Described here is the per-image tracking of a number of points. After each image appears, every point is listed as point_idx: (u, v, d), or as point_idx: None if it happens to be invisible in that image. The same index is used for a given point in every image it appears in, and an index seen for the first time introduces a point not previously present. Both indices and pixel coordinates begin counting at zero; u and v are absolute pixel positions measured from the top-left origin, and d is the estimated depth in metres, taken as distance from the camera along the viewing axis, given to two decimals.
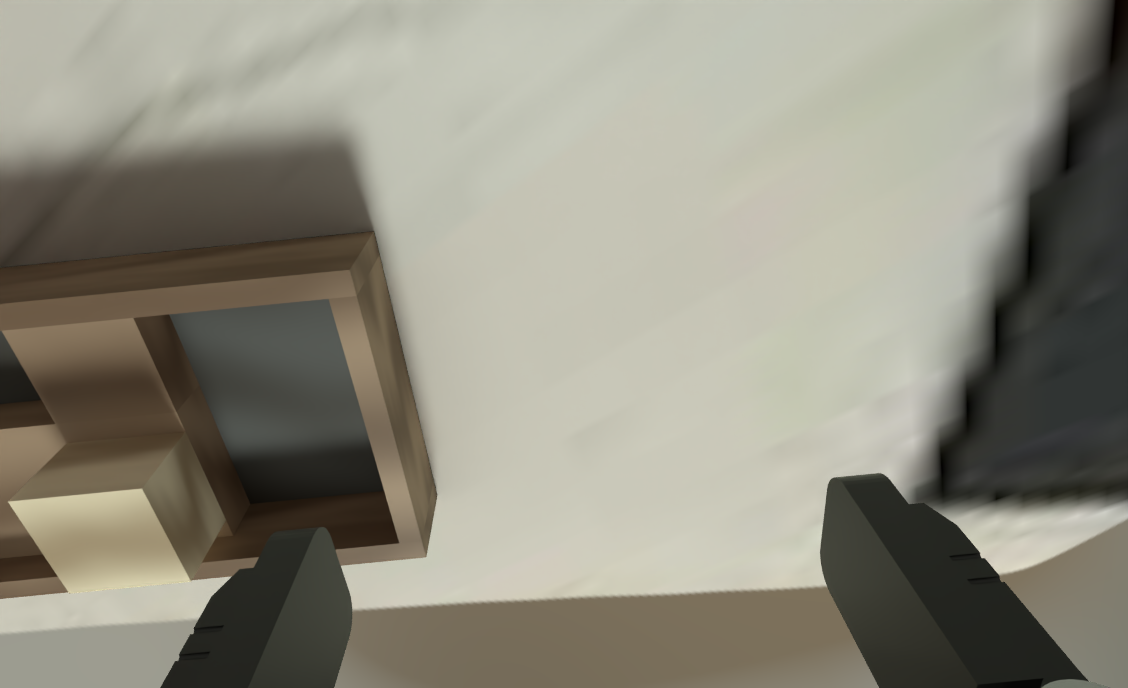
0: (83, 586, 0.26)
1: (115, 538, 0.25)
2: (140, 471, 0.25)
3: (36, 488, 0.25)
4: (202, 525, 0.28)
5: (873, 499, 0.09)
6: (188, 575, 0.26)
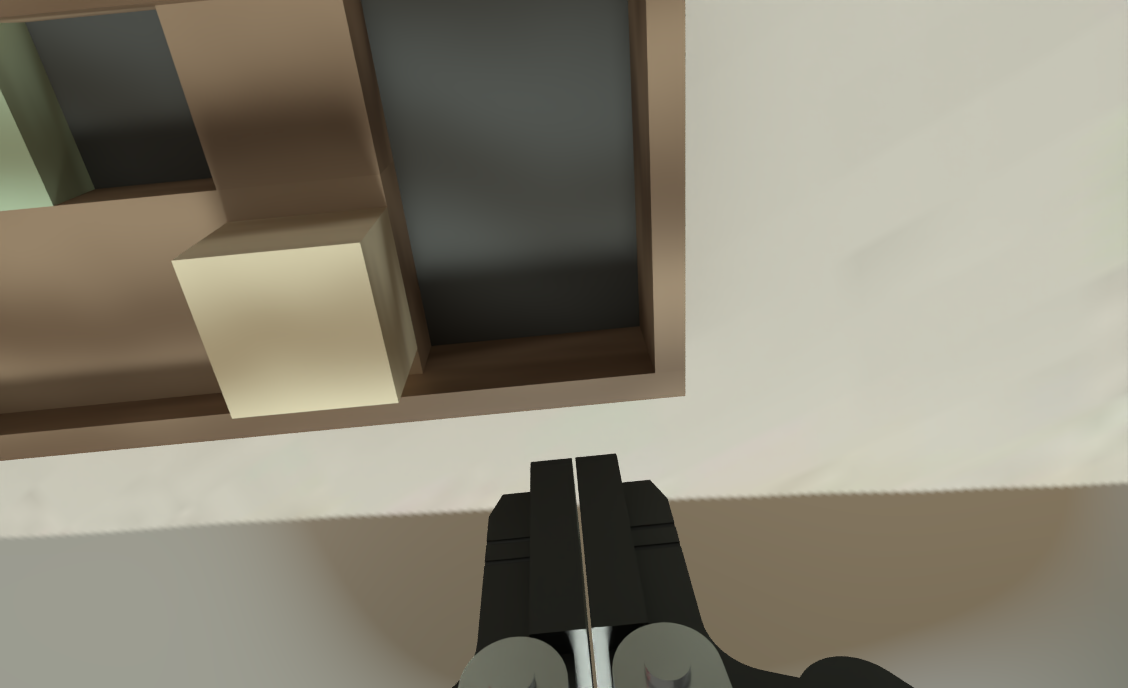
0: (252, 408, 0.19)
1: (309, 327, 0.18)
2: (347, 232, 0.18)
3: (206, 250, 0.18)
4: (402, 338, 0.21)
5: (593, 475, 0.10)
6: (396, 393, 0.19)
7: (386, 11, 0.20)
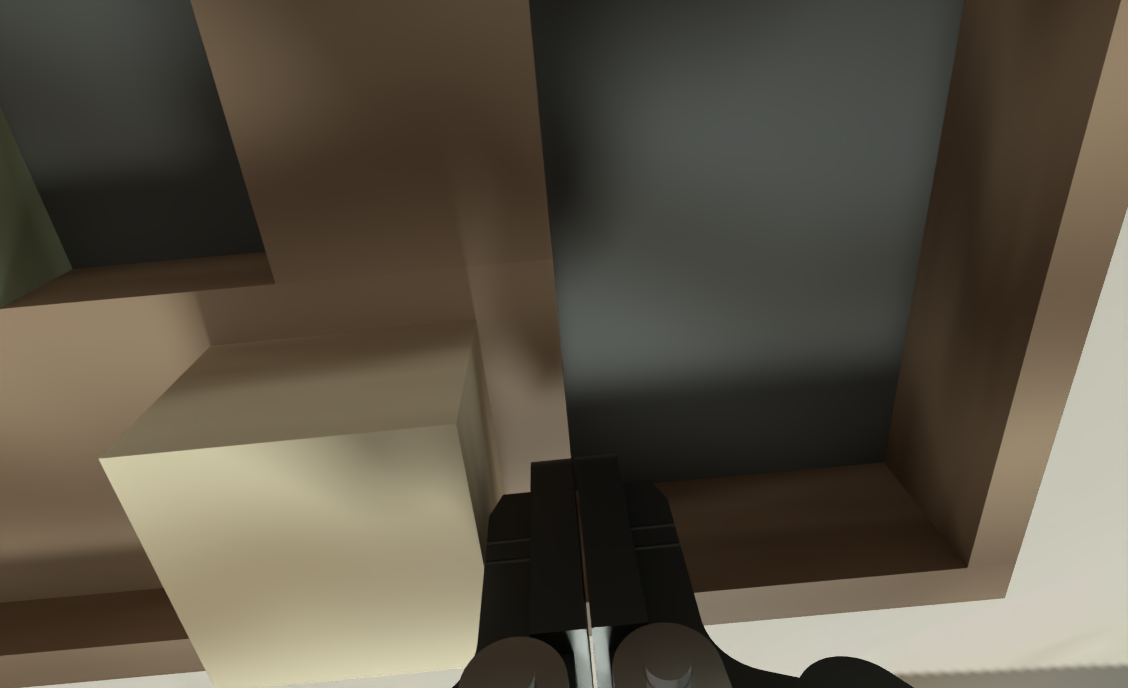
0: (252, 676, 0.11)
1: (354, 559, 0.10)
2: (423, 389, 0.10)
3: (167, 428, 0.10)
4: None
5: (593, 475, 0.10)
6: None
7: None
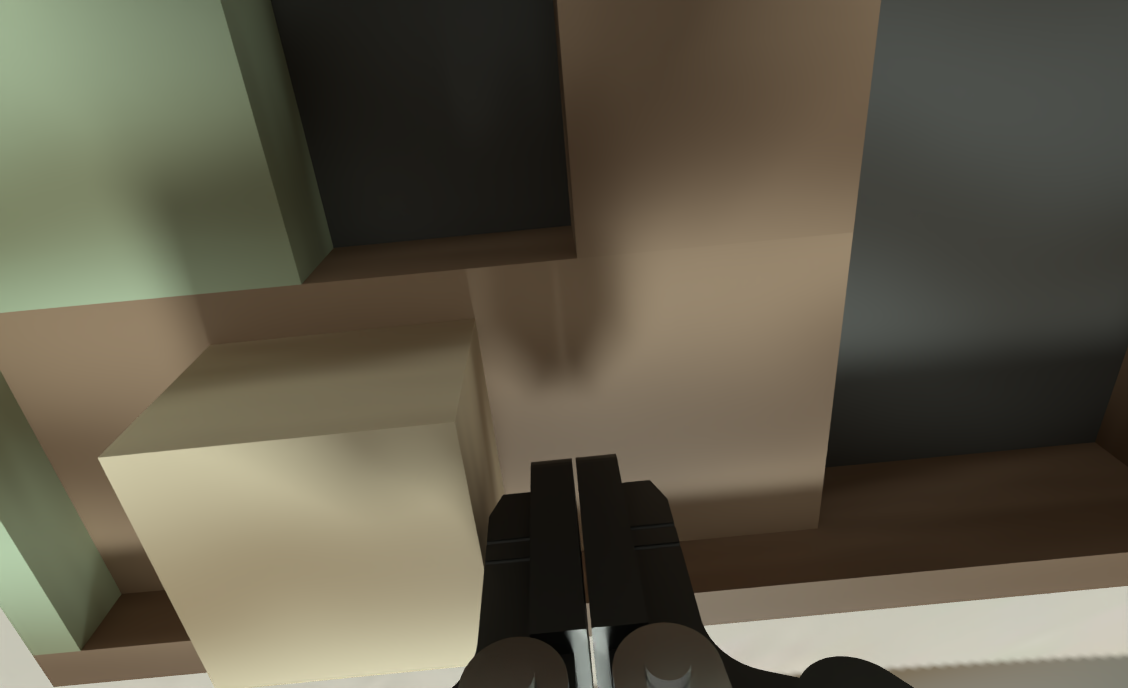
0: (252, 675, 0.11)
1: (353, 557, 0.10)
2: (423, 387, 0.10)
3: (167, 427, 0.10)
4: None
5: (593, 475, 0.10)
6: None
7: None
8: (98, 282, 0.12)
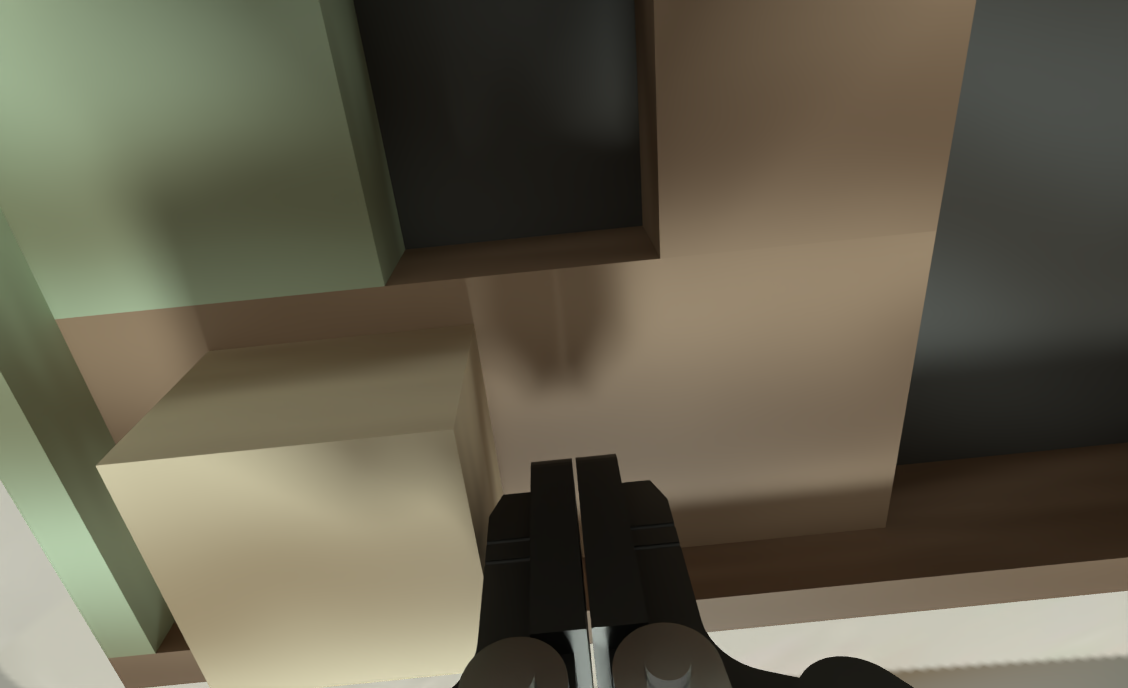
0: (251, 682, 0.11)
1: (352, 565, 0.10)
2: (421, 394, 0.10)
3: (165, 435, 0.10)
4: None
5: (593, 475, 0.10)
6: None
7: None
8: (183, 285, 0.12)
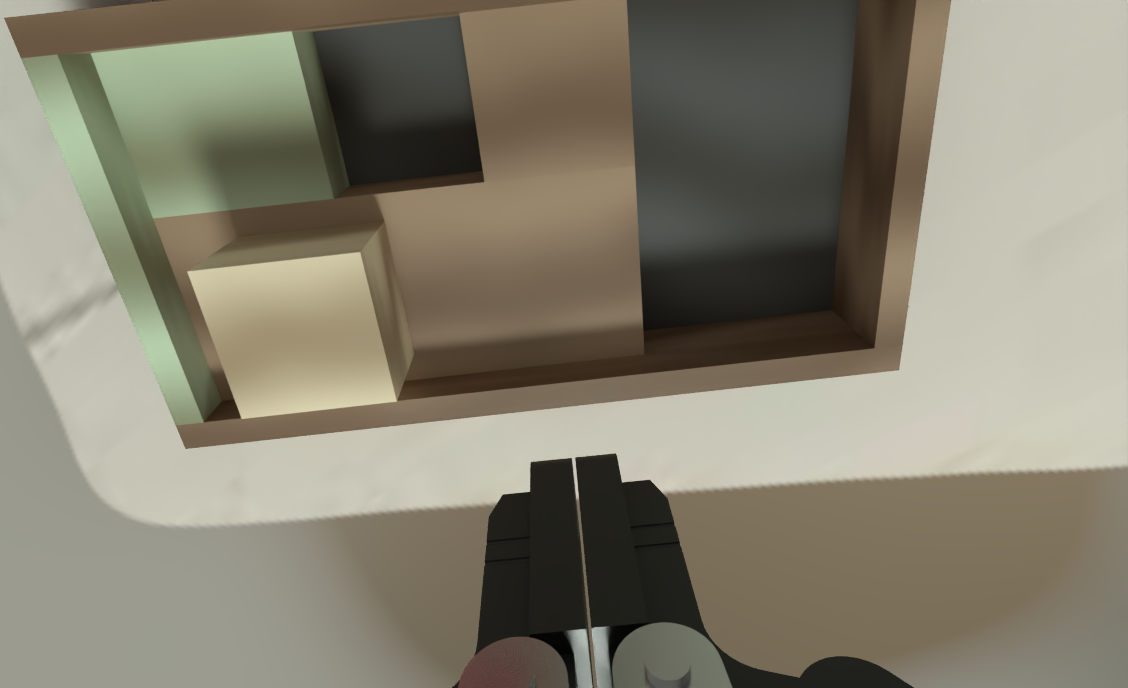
0: (261, 408, 0.21)
1: (314, 331, 0.20)
2: (348, 244, 0.20)
3: (219, 262, 0.19)
4: (400, 342, 0.22)
5: (593, 475, 0.10)
6: (394, 392, 0.21)
7: (639, 17, 0.21)
8: (223, 198, 0.21)
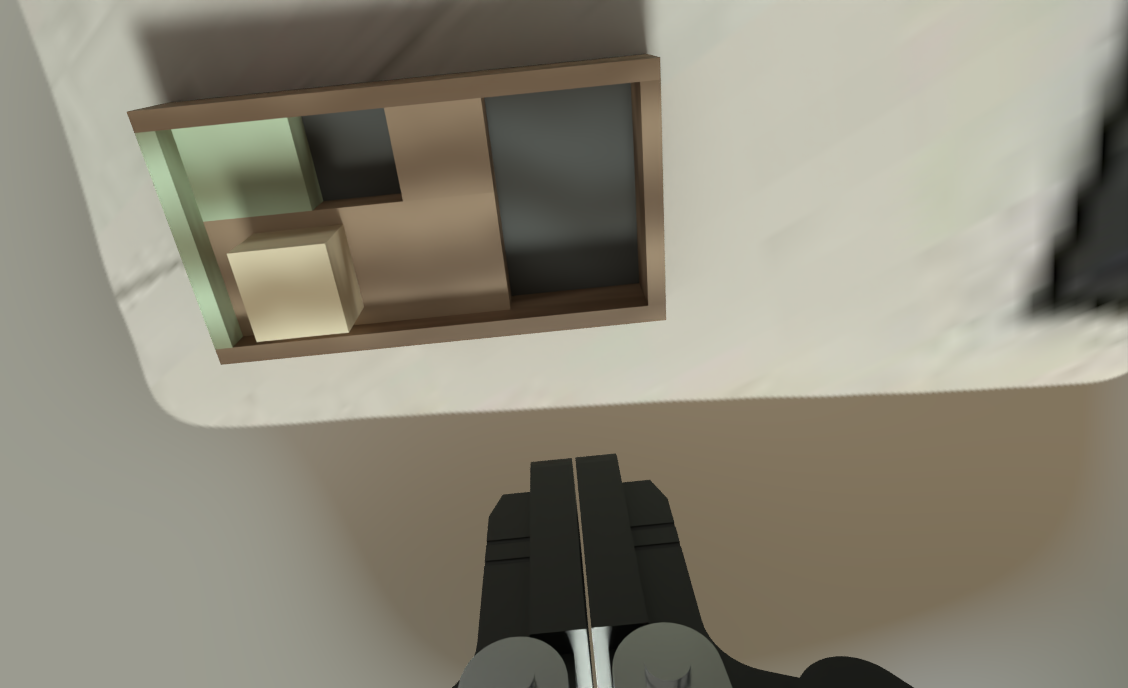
0: (268, 335, 0.35)
1: (299, 289, 0.34)
2: (319, 238, 0.34)
3: (244, 248, 0.33)
4: (352, 298, 0.36)
5: (593, 476, 0.10)
6: (347, 327, 0.35)
7: (497, 102, 0.35)
8: (246, 210, 0.35)
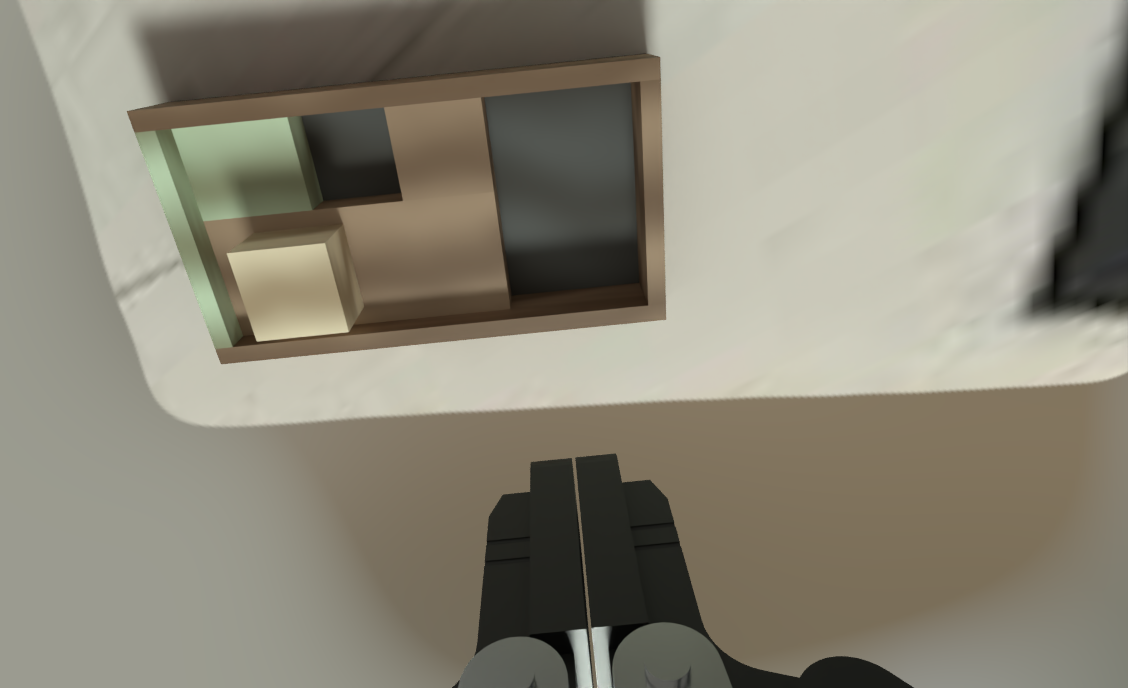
0: (268, 335, 0.35)
1: (299, 289, 0.34)
2: (319, 238, 0.34)
3: (244, 248, 0.33)
4: (352, 298, 0.36)
5: (593, 476, 0.10)
6: (347, 326, 0.35)
7: (497, 102, 0.35)
8: (246, 209, 0.35)
